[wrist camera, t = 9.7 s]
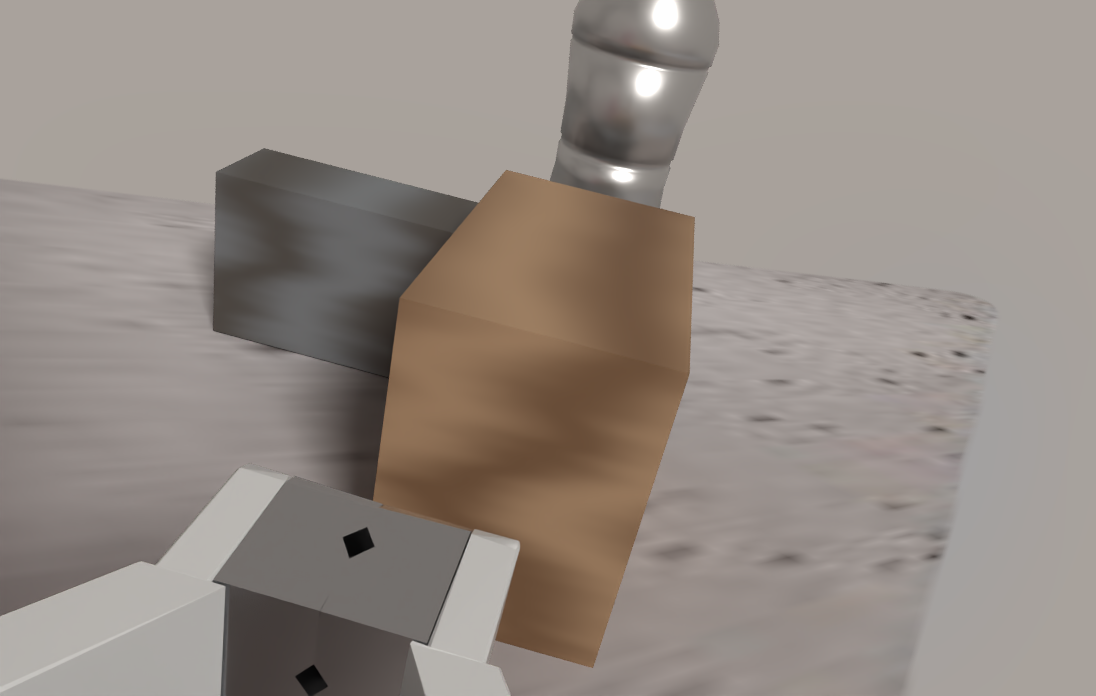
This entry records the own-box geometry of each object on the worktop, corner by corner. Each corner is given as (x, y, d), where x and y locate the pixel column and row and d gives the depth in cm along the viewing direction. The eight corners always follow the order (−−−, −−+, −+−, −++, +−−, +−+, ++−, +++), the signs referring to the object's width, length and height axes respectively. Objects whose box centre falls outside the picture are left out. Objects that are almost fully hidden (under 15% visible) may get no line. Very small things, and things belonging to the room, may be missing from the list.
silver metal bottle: (593, 293, 47) (693, -103, 38) (658, 354, 42) (792, -85, 33) (489, 296, 44) (570, -134, 35) (546, 362, 39) (659, -120, 30)
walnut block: (359, 603, 24) (399, 297, 20) (463, 400, 35) (506, 170, 30) (592, 669, 24) (689, 373, 19) (626, 443, 35) (694, 217, 30)
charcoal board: (213, 330, 36) (215, 171, 32) (257, 294, 39) (264, 148, 36) (625, 440, 35) (670, 288, 31) (632, 393, 38) (674, 252, 35)
